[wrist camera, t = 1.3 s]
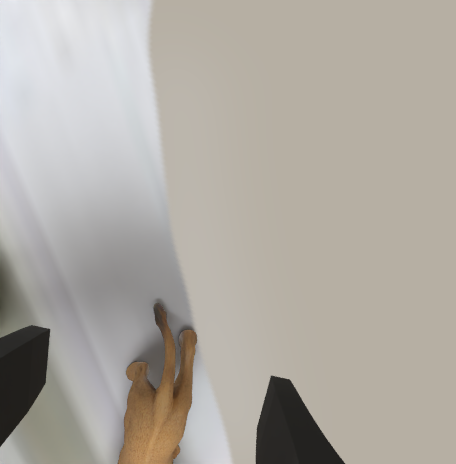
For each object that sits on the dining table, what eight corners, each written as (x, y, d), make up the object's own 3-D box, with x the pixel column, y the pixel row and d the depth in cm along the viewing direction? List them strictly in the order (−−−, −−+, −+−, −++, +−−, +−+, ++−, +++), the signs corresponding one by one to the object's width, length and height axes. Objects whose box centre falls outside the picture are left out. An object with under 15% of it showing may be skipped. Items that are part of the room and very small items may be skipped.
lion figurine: (197, 500, 26) (199, 672, 18) (119, 504, 26) (81, 683, 17) (198, 299, 24) (201, 384, 15) (110, 300, 23) (59, 389, 14)
